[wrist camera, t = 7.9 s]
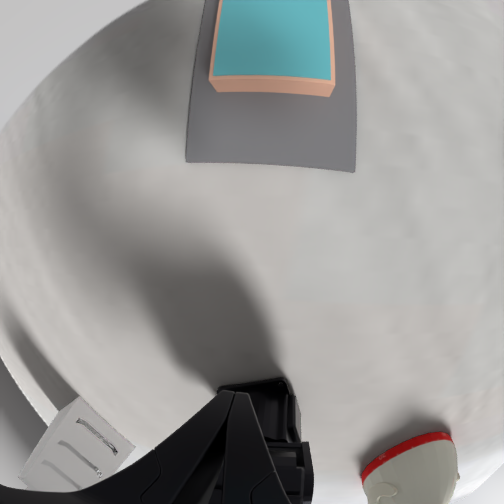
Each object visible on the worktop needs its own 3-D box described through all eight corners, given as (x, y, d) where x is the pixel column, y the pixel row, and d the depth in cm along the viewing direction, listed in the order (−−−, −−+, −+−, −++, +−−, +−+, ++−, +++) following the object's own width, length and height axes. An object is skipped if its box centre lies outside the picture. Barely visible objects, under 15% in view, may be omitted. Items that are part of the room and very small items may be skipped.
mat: (353, 172, 18) (355, 172, 18) (187, 162, 19) (185, 161, 19) (347, 2, 14) (348, -1, 14) (208, -2, 16) (206, -5, 15)
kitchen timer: (345, 487, 27) (351, 567, 12) (392, 435, 23) (421, 536, 9) (417, 480, 26) (435, 545, 11) (467, 427, 22) (504, 498, 8)
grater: (135, 446, 28) (78, 548, 9) (105, 454, 31) (55, 533, 11) (79, 395, 27) (-2, 488, 8) (58, 411, 30) (-6, 484, 10)
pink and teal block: (335, 84, 14) (328, -18, 12) (207, 79, 15) (222, -20, 13) (329, 97, 17) (325, 0, 14) (217, 92, 17) (228, -3, 15)
